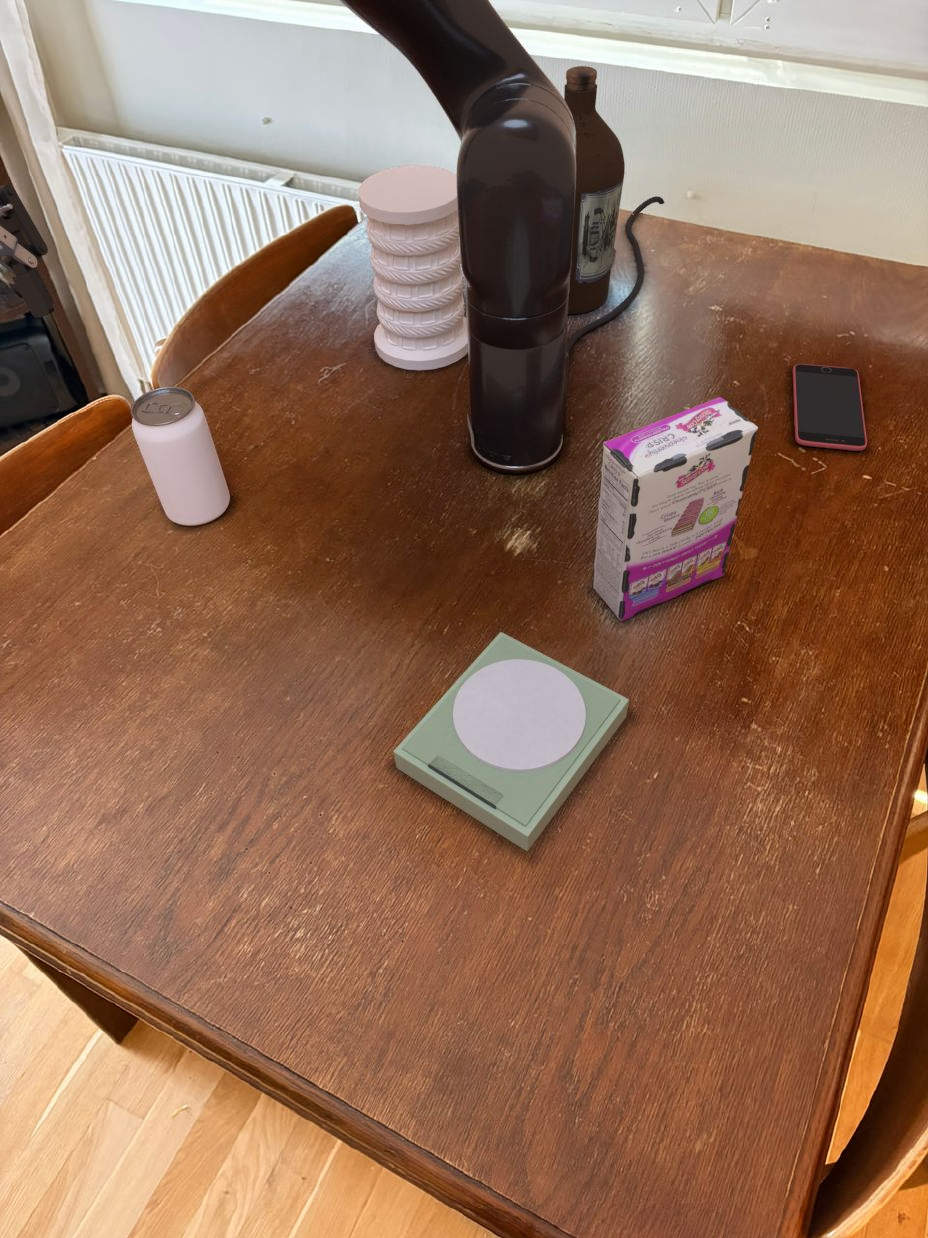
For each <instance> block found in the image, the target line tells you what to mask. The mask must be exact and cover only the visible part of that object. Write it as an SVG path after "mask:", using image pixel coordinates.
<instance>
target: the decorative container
mask: <svg viewBox="0 0 928 1238" xmlns="http://www.w3.org/2000/svg"><path fill="white" fill-rule="evenodd" d="M456 176H457V173H455V172H453V171H451V170H449V169H447V168H444V167H440V166H434V165H426V164H411V165H410V164H409V165H408V164H407V165H400V166H395V167H390V168H386V169H383V170H381V171H378V172H376V173H374V174H372V175H369V176H368V177H367V178H366V179H365V180H363V181H362V182H361V183H360V185H359V187H358V189H357V193H358V194H357V195H358V196H357V197H358V203H359V208H360V209H361V211H362V213H363V214H365V215H366V216H367V220H366V226H365V232H366V236H367V238H368V241H369V242H370V244H371V248H370V253H369V262H370V265H371V268H372V271H374V277H373V283H372V284H373V291H374V293H375V296H376V298H377V303H376V304H377V305H376V315H377V318H378V319H377V320H378V322H379V323H378V324H377V326H376V328H375V330H374V333H373V341H374V348H375V351H376V353H377V355H378V357H379V358H380V359H382V360H383V361H384V362H385V363H387V364H389V365H390V366H393V367H396V368H400V369H403V370H409V371H428V370H429V371H430V370H435V369H439V368H443V367H447V366H450V365H452V364H454V363H456V362H458V361H460V360H461V359H463V357H465V356H466V355H468V337H467V317H465V313H466V302H465V300H464V296H463V290H464V287H465V278H464V275H463V272H462V267H461V254H460V238H459V223H458V206H457V178H456Z"/></svg>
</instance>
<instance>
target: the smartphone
mask: <svg viewBox="0 0 928 1238" xmlns="http://www.w3.org/2000/svg"><path fill="white" fill-rule="evenodd" d="M861 390H862V389H861V381H860V373H859V371H858V370H857V369H855V368H852V367H844V366H834V365H833V366H832V365H820V364H808V363H797V364H795V365H794V366H793V367H792V391H793V392H792V394H793V419H794V420H793V426H794V440H795V442H796V443H797V444H799V446H800V445H801V446H805V447H814V448H824V449H833V450H844V451H852V452H853V451H854V452H861V451H864V450H866V448H867V446H868V437H867V430H866V422H865V421H866V420H865V415H864V406H863V405H864V404H863V399H862V397H863V396H862V391H861Z"/></svg>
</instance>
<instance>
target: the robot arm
mask: <svg viewBox="0 0 928 1238" xmlns="http://www.w3.org/2000/svg"><path fill="white" fill-rule="evenodd" d="M338 1H339V2H340V3H341V4H343V6H344V7H346V8H347V9H348V10H349V11H351V12H352V14H354V15H355V16H356V17H358V18H359V19H360V20H361V21H363V23H365V24H366V25H367V26H368V27H370V28H371V29H372V30H374V31H375V33H377V34H378V35H380V36H381V37H382V38H384V39H385V40H386V41H387V43H389V44H391V46H393V47H394V48H395V49H396V50H397V51H398V52H399V53H400V54H402V56H404V57H405V58H406V60H407V61H408V62H409V63H410V64H411V66H412V67H413V68H414V70H416V71H417V73H418V74H419V76H420V77H421V79H422V80H423V81H424V82H425V84H426V85H427V86H428V88H429V90H430V91H431V93H432V94H433V96H434V97H435V98H436V100H437V102H438V104H439V106H440V107H441V108H442V110H443V112H444V114H445V115H446V117H447V118H448V120H449V122H450V124H451V125H452V127H453V129H454V131H455V133H456V135H457V136H458V138H459V140H460V146H459V151H458V155H457V162H456V175H457V176H456V178H457V206H458V223H459V241H460V254H461V265H460V268H461V270H462V273H463V274H462V275H463V277H464V278H463V279H464V291H465V292H464V293H465V313H466V314H465V315H466V317H465V318H467V337H468V352H467V355H468V356H467V357H468V358H467V360H468V379H469V380H468V381H469V382H468V383H469V401H470V402H469V404H470V406H469V407H470V416H469V414H468V413H467V415H466V416H467V417H466V418H467V428H468V430H469V431H468V432H469V434H470V448H471V453H472V454H473V457H474V458H475V459H476V460H477V461H478V462H479V464H481V465H483V466H484V467H485V468H488V469H489V470H492V471H494V472H498V473H501V474H502V473H503V474H507V475H508V474H509V475H524V474H530V473H534V472H538V471H540V470H543V469H545V468H547V467H549V466H550V465H552V464H553V463H554V462H555V461H556V460H557V459H559V457H560V455H561V453H562V450H563V442H564V441H563V440H564V439H563V438H564V434H565V433H566V422H567V421H566V420H567V403H568V383H569V364H570V356H569V355H570V351H571V349H572V348H573V346H574V345H575V344H576V342H577V341H578V340H579V339H580V338H582V337H583V336H584V335H585V334H587V333H589V332H591V331H592V330H595V329H596V328H598V327H600V326H602V325H604V324H606V323H608V322H609V321H611V320H612V319H614V318H615V317H617V316H618V315H619V314H621V312H623V311H624V310H625V309H626V308H627V307H628V306H629V305H630V304H631V303H632V302H633V300H634V299H635V298H636V296H637V295H638V293H639V292H640V289H641V287H642V284H643V282H644V278H645V265H644V261H643V257H642V252H641V247H640V245H639V241H638V240H637V238H636V236H635V234H634V232H633V231H632V224H633V222H634V220H635V219H636V218H637V217H638V215H639V214H640V213H642V211H643V210H645V209H646V208H647V207H649V206H650V205H652V204H655V203H658V204H659V205H664V204H665V200H664V199H663V198H662V197H661V196H656V195H655V196H652V197H650V198H648V199H646V200H645V201H643V202H641V204H639V205H638V206H637V207H636V208H635V209H634V210H633V211H632V213H633V214H634V215H632V213H630V215H629V217H628V218H627V220H626V223H625V227H624V228H625V229H624V230H625V234H626V235H627V238H628V239H629V241H630V243H631V246H632V247H633V251H634V256H635V259H636V264H637V278H636V281H635V285H634V286H633V288H632V290H631V291H630V293H629V294H628V296H626V298H625V299H623V301H622V302H621V303H620V304H619V305H617V307H615V308H614V309H613V310H612V311H610V312H609V313H607V314H606V315H604V316H602V317H600V318H598V319H596V320H595V321H592V322H590V323H588V324H587V325H584V326H583V327H581V328H580V329H579V330H577V331H576V332H574V333H573V334H572V335H571V337H570V338H569V339H568V325H569V320H568V319H569V314H568V303H569V289H570V274H571V265H572V242H573V226H574V209H575V191H576V129H575V124H574V121H573V117H572V114H571V111H570V109H569V107H568V105H567V103H566V101H565V100H564V97H563V95H562V94H561V92H560V91H559V90H558V88H557V87H556V86H555V85H554V83H553V82H552V80H550V78H549V77H548V76H547V74H545V72H544V71H543V70H542V69H541V67H540V66H539V64H538V63H536V61H535V60H534V58H533V57H532V56H531V54H530V53H529V52H528V51H527V49H525V47H524V46H523V44H522V43H521V42H520V40H519V39H518V38H517V37H516V36H515V33H513V32H512V30H511V29H510V27H509V26H508V25H507V24H506V22H505V21H504V20H503V18H502V17H501V16H500V15H499V13H498V11H497V10H496V9H495V7H494V6H493V5H492V3H491V1H490V0H338ZM48 252H49V248H48V245H47V244H46V242H45V240H44V238H43V237H42V235H41V233H40V231H39V229H38V228H37V226H36V224H35V223H34V221H33V219H32V217H31V215H30V214H29V212H28V209H26V207H25V204H24V203H23V201H22V199H21V198H20V196H19V194H18V193H17V191H16V189H15V187H13V186H12V185H11V184H9V183H6V184H3V185H0V265H1V266H2V267H3V268H5V269H6V270H8V271H9V272H11V274H15V276H12V277H11V279H12V281H13V283H14V284H15V287H16V289H17V291H18V292H19V293H20V295H21V297H22V299H23V301H24V303H25V305H26V306H27V308H28V310H29V311H30V314H31V315H32V316H33V317H34V318H36V319H38V318H42V317H45V316H49V315H51V314H53V313H55V306H54V299H53V297H52V294H51V293H50V291H49V289H48V287H47V285H46V284H45V281H44V280H43V278H42V276H41V274H40V272H39V270H38V263H39V261H40V259H41V258H42V256H46V255H47V254H48Z"/></svg>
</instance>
